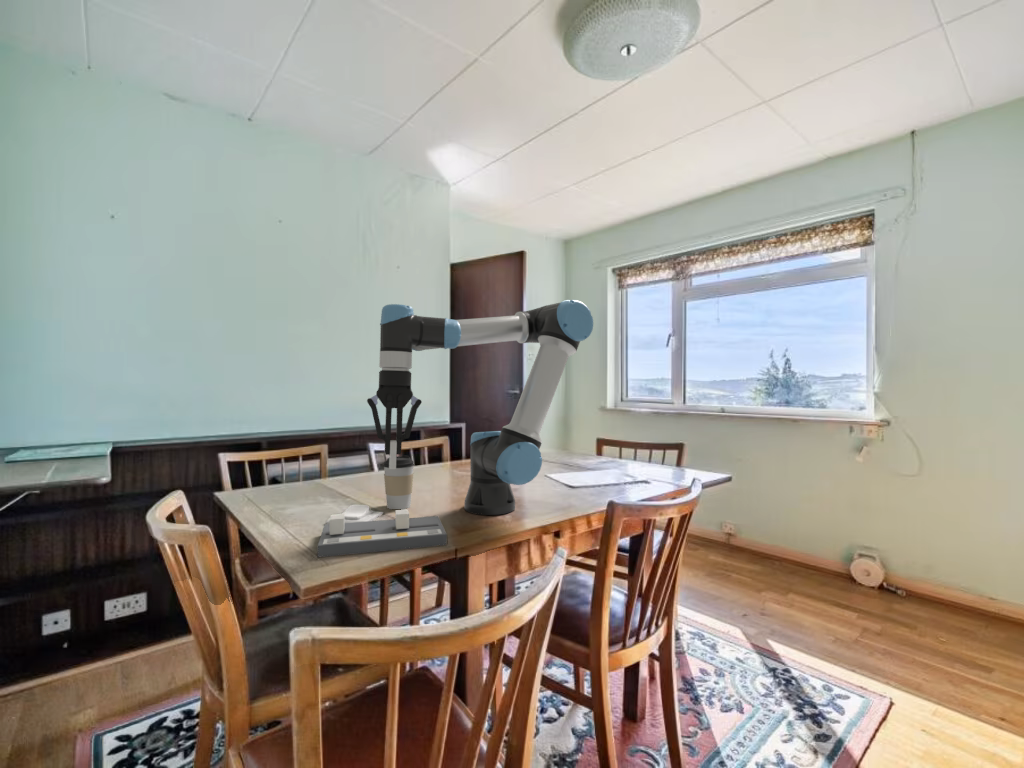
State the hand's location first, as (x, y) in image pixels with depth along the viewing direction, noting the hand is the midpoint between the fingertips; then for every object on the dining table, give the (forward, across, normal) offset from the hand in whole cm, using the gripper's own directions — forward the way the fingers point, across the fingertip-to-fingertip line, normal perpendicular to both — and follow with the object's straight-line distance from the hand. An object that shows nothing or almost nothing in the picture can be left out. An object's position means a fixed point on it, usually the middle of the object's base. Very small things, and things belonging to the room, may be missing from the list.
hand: (392, 468), depth 114 cm
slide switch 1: (+15, +12, 0) cm, 19 cm away
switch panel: (+17, +2, 0) cm, 17 cm away
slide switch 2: (+14, -3, 0) cm, 14 cm away
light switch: (+18, +8, -20) cm, 28 cm away
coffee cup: (+17, -4, -29) cm, 34 cm away
